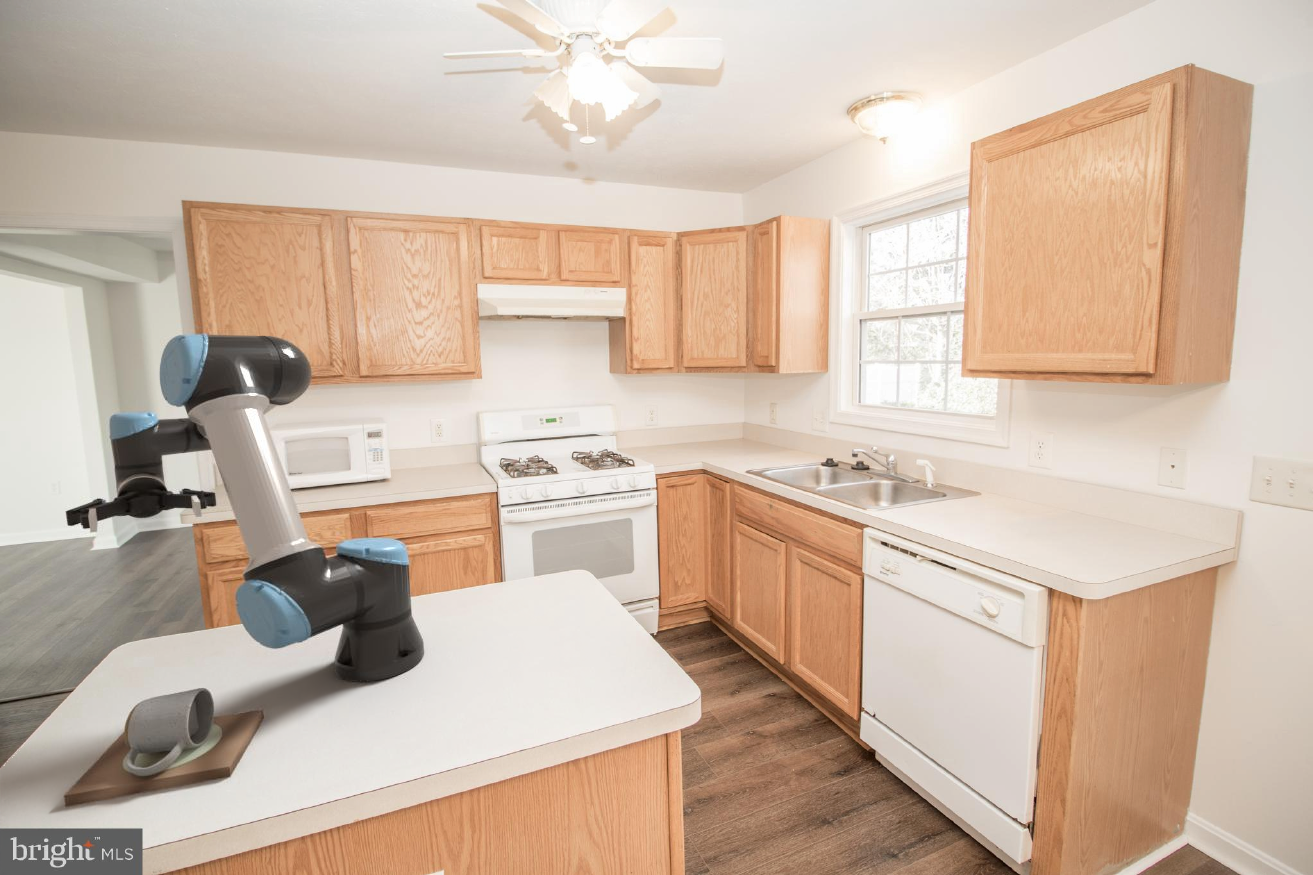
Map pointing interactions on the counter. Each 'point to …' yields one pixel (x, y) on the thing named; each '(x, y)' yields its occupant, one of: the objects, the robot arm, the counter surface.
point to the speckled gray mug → (168, 727)
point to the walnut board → (189, 767)
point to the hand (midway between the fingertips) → (147, 516)
